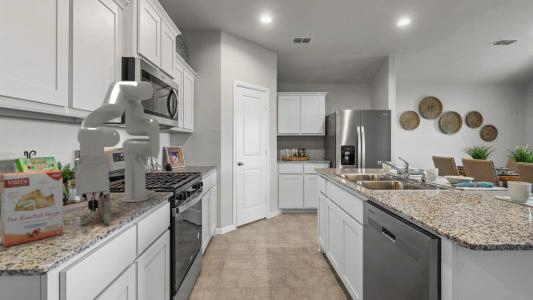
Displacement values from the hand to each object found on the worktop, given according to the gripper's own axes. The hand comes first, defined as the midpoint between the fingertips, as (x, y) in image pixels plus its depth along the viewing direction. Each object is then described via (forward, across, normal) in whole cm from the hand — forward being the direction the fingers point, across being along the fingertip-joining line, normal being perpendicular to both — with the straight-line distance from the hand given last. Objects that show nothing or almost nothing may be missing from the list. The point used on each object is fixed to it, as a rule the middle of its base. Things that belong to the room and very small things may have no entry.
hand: (93, 210), depth 100 cm
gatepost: (+5, +5, +14) cm, 15 cm away
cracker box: (+5, -16, -8) cm, 19 cm away
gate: (+4, +3, +4) cm, 6 cm away
